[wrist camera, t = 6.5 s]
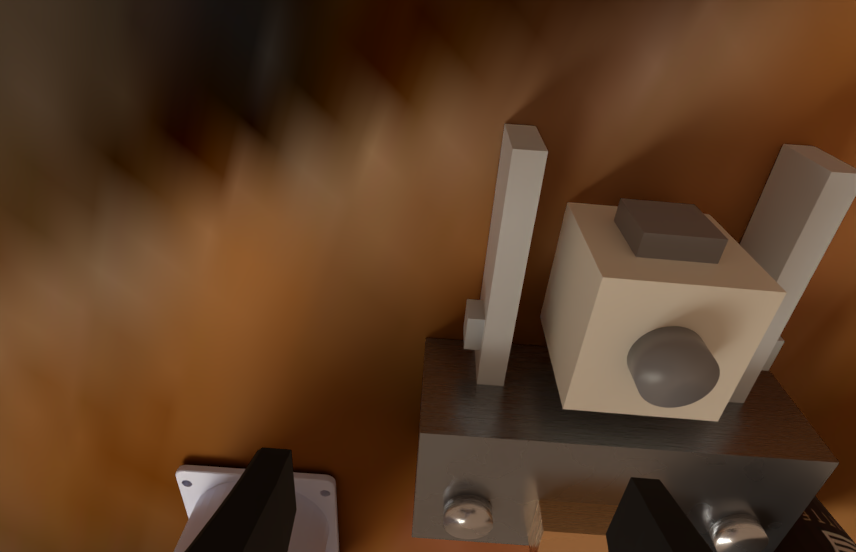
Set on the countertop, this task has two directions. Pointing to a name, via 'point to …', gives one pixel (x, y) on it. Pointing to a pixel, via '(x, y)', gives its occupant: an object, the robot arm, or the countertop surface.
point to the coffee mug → (816, 533)
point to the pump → (652, 310)
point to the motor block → (600, 460)
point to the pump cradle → (763, 240)
